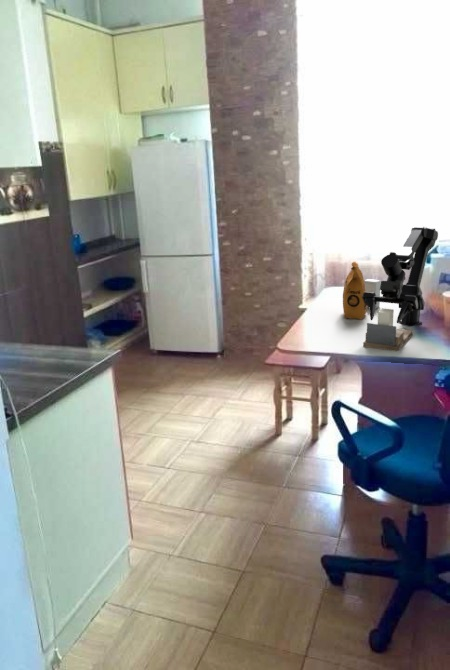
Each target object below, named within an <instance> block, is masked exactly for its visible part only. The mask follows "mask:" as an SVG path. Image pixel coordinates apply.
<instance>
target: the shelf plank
mask: <svg viewBox="0 0 450 670" xmlns="http://www.w3.org/2000/svg"><path fill="white" fill-rule="evenodd" d="M412 336H413V330H410V329H402V328H396V344H395V346H389V345H382V344H374V343H367V332H366V333H365V339H364V342H362V344H363V347H365V348H366V347H367V348H372V349H379V350H380V349H381V350H386V349H387V350H386V351H393V352H394V351H395V352H398V351H399V350H400V349H401V348H402V346H404V344H405V343H406V342H407V341H408V340H409V339H410V338H411V337H412Z"/></svg>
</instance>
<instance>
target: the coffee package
mask: <svg viewBox="0 0 450 670" xmlns="http://www.w3.org/2000/svg"><path fill="white" fill-rule="evenodd" d="M365 291H366V290H365V284H364V275H363V272H362V270H361V269H360V267H359V264H358V263H357V262H356V261H353V262H351V268H350V271H349V273H348V275H346V277H345V280H344V286H343V292H342V309H343V315H344V318H345V319H351V320H353V319H356V320H363V319H364V318H365V316H366V314H367V307H366V305H365V303H364V301H363V299H362V295H363V293H364V292H365Z"/></svg>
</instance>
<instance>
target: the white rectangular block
mask: <svg viewBox="0 0 450 670" xmlns="http://www.w3.org/2000/svg"><path fill="white" fill-rule="evenodd" d="M377 324H380V325H389V326H394V309H392V308H381V309H380V310H379V311H378V312H377Z"/></svg>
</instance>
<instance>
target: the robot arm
mask: <svg viewBox="0 0 450 670" xmlns="http://www.w3.org/2000/svg"><path fill="white" fill-rule="evenodd" d="M410 231H411V232H410V234H409V235H408V237H407V239H406V240H405V242H404V244H403V246H402V247H401V248H399V249H396V251H394V252H393V251H390V252H389V254H387V255H385V256H384V257H383V258H382V259H381V260H380V263H381V266H382V268H383V270H384V273H385V275H386V276H387V279H386V280H380V281H381V283H380V296H376V295H375V292H366V291H365V292H364V293H363V295H362V299H363V301H364V303H365V305H367V306H368V307H367V308H369V314H370V315H369V318H370V321H373V319H374V318H375V317H374V316H375V312H376V309H377V308H376V303H377V302H380V303H387V304H388V303H389V304H396V305H398V309H399V311H398V316H397V319H396V323H397V324H399V323H400V324H403V325H405V326H409V327H412V326H417V325H421V324H423V321H420V315H421V311H423V310H425V304H426V303H425V299H424V298H423V292H422V289H421V283H422V279H423V274H424V270H425V266H426V262H427V259H428V254H429V252H430V251H431V249H432V248H434V246H435V244H436V241H437V240H438V237H439V232H438V231H437V230H436V228H430V227H429V228H428V227H427V226H412V228H411V230H410ZM405 271H410V272H409V276H408V280H407V282H406V283H405V284H404V282H405V280H406V272H405ZM381 295H382V296H381Z"/></svg>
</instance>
